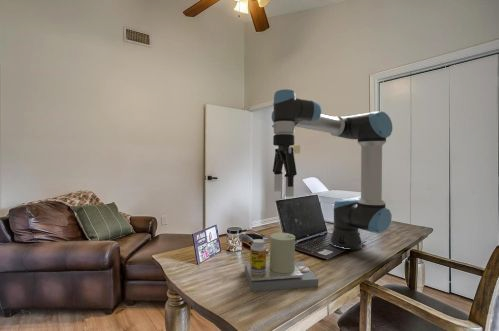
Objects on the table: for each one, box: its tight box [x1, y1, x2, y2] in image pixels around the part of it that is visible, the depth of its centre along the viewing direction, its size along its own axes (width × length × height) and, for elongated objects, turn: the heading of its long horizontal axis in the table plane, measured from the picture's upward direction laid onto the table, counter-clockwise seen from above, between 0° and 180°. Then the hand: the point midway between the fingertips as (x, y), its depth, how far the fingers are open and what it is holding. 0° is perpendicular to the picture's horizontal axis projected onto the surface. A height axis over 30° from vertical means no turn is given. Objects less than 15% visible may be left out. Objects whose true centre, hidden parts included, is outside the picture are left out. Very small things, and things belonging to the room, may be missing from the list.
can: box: [269, 232, 296, 273], centre depth 91 cm, size 9×9×12 cm
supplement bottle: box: [249, 238, 267, 272], centre depth 89 cm, size 6×6×10 cm
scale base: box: [244, 261, 319, 292], centre depth 91 cm, size 23×15×3 cm, turn 100°
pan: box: [244, 260, 303, 281], centre depth 90 cm, size 18×13×1 cm
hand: (283, 193), depth 90 cm, fingers open, 13 cm apart
